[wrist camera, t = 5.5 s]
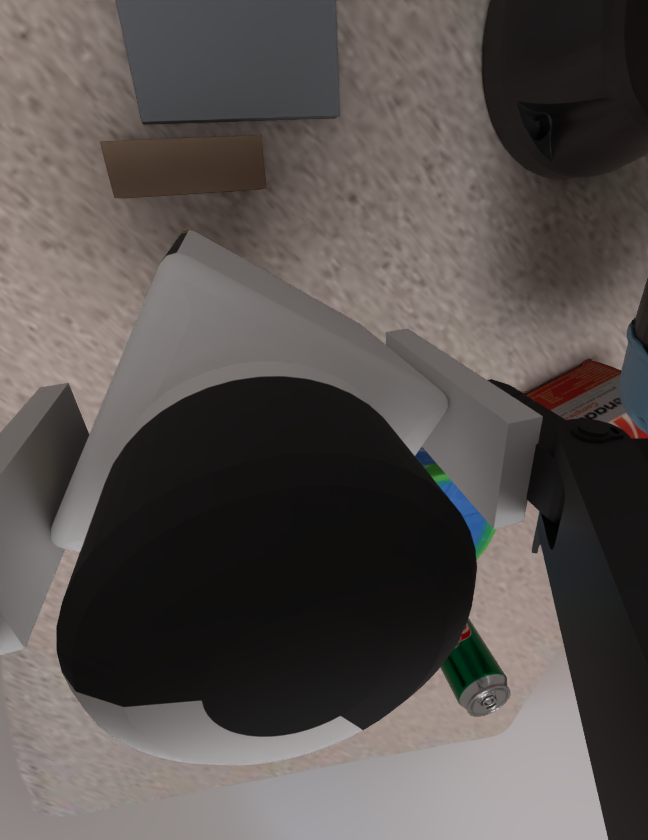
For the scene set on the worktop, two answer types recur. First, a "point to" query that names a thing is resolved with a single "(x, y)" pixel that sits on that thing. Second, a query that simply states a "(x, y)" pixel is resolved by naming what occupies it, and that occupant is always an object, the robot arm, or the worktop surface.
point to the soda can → (475, 675)
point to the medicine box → (588, 396)
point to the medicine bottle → (256, 525)
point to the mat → (232, 59)
